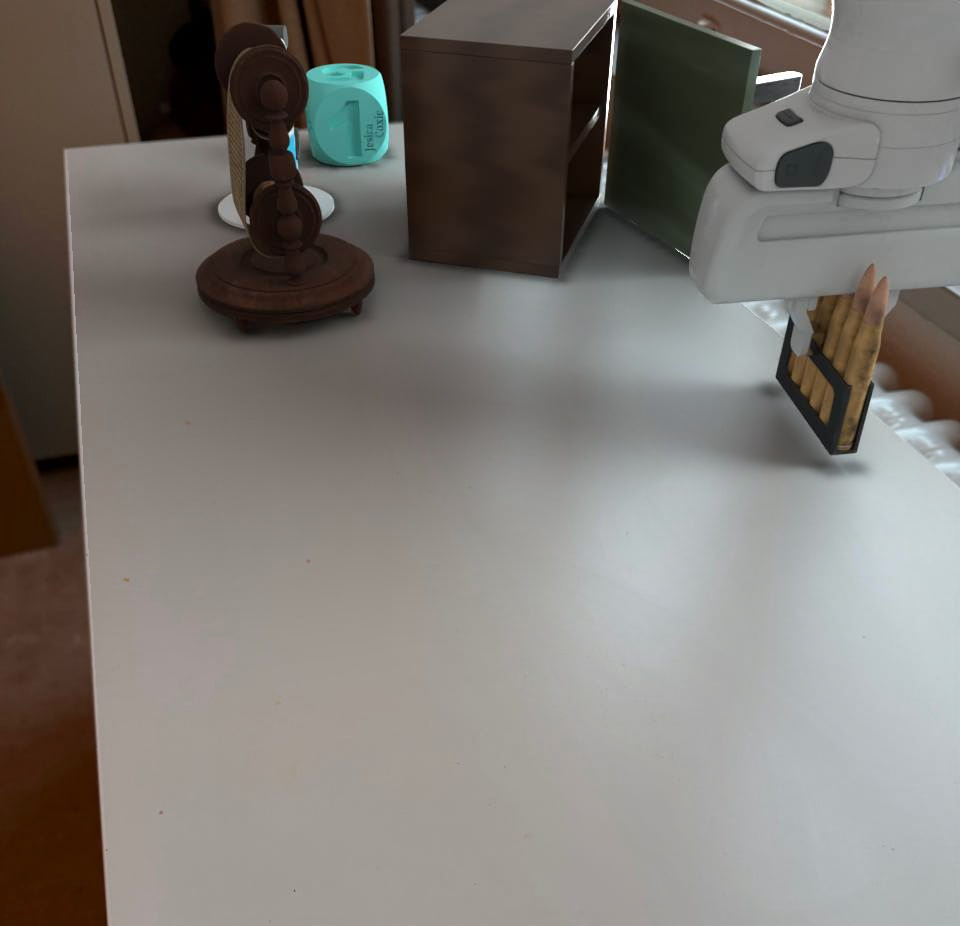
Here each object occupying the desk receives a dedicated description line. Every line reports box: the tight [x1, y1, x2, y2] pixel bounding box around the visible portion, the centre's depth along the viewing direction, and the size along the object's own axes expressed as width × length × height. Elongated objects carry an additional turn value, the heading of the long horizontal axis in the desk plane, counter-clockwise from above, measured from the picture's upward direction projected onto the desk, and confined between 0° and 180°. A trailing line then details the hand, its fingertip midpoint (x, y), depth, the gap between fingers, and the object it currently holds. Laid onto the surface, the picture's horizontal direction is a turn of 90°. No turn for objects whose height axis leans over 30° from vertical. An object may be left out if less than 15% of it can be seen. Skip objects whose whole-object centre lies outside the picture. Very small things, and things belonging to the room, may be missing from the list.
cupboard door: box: [603, 0, 803, 258], centre depth 93 cm, size 8×18×18 cm, turn 28°
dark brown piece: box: [195, 21, 376, 334], centre depth 81 cm, size 15×15×20 cm
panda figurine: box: [217, 24, 335, 230], centre depth 97 cm, size 12×11×15 cm
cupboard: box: [399, 0, 618, 279], centre depth 92 cm, size 14×18×18 cm
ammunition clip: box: [775, 263, 889, 457], centre depth 69 cm, size 11×2×12 cm, turn 9°
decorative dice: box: [304, 63, 390, 167], centre depth 111 cm, size 8×8×8 cm
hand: (827, 350), depth 70 cm, fingers closed on ammunition clip, 2 cm apart
